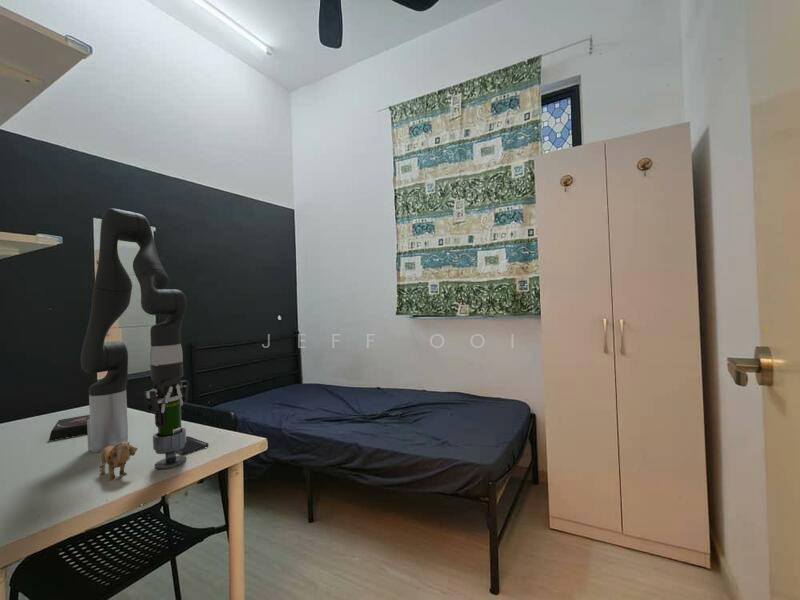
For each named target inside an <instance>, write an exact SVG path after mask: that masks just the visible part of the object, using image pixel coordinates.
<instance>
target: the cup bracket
mask: <svg viewBox="0 0 800 600" xmlns="http://www.w3.org/2000/svg"><path fill="white" fill-rule="evenodd" d="M181 431H182V432H180V433H178V434H174V435H170V436H164V437H158V432H155V433H154V434H153V436H152V444H153V445H152V447H153V450H154V451H155V454H157V455H164V456H165V457H164V458H162V459H161V460H158V461H157V462H156V463H155V464H154V469H155V470H157V471H159V470H160V471H162V470H163V471H164V470H169V469H174V468H177V467H180V466H181V465H183V463H184V464H185V463H186V462H187V461H186V460H187V455H177V453H176V451H178V450H181V449H182V448H184V447H185V443H186V436H187V429H186V428H184V427H181Z"/></svg>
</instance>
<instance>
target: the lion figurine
mask: <svg viewBox="0 0 800 600" xmlns="http://www.w3.org/2000/svg"><path fill="white" fill-rule="evenodd" d="M137 450H138V447H135V446H133V445H132V444H130V442H129V441H128V442H122V443H120V444H118V445H116V446H115V447H114V446H108V447H106V448H105V449H104V450H103V452H101V458H100V460H101V465H100V466H99V469H100V473H99V476H104V475H106V474H107V473H106V464H107V467H108V473H109V480H108V481H110V482H111V481H115V480H116V474H115V469H116V468H117V469H118V468H119V475H120V476H121V477H123V475H124V476H126V475H127V473H128V472H126V471H125V467H126V465H127V462H128V461H129V460H130V458H131V456H132V457H134V456H135V455H136V452H137ZM114 479H115V480H114Z"/></svg>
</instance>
